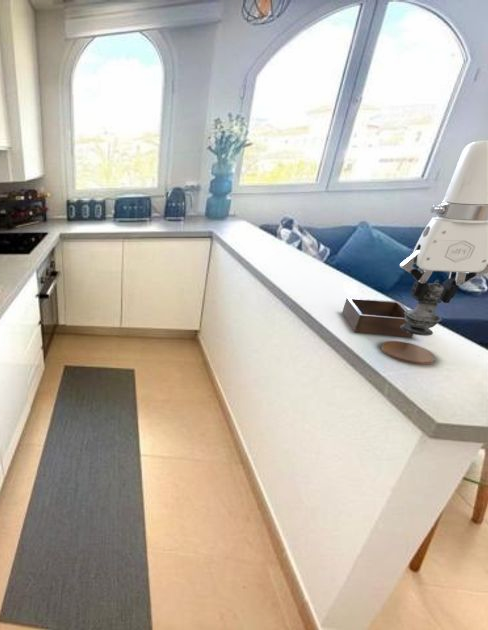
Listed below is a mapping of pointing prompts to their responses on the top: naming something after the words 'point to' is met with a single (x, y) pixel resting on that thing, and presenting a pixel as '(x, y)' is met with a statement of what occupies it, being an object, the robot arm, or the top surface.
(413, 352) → the coaster
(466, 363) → the top surface
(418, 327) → the stone chess piece
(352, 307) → the crate
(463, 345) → the top surface
